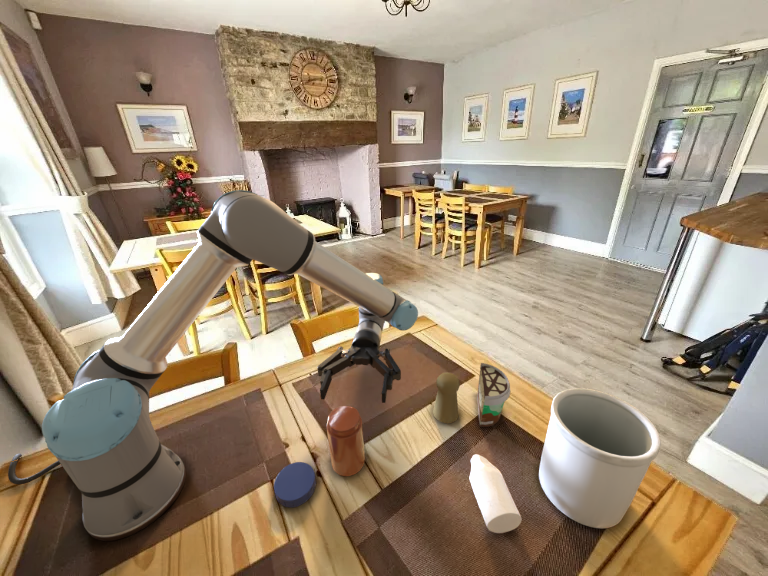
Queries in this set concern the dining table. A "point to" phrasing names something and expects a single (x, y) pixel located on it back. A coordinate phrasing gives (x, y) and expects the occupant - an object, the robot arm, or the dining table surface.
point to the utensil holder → (595, 455)
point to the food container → (491, 394)
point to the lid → (295, 484)
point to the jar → (346, 440)
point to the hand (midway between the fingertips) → (352, 396)
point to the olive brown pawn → (446, 398)
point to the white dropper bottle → (493, 496)
